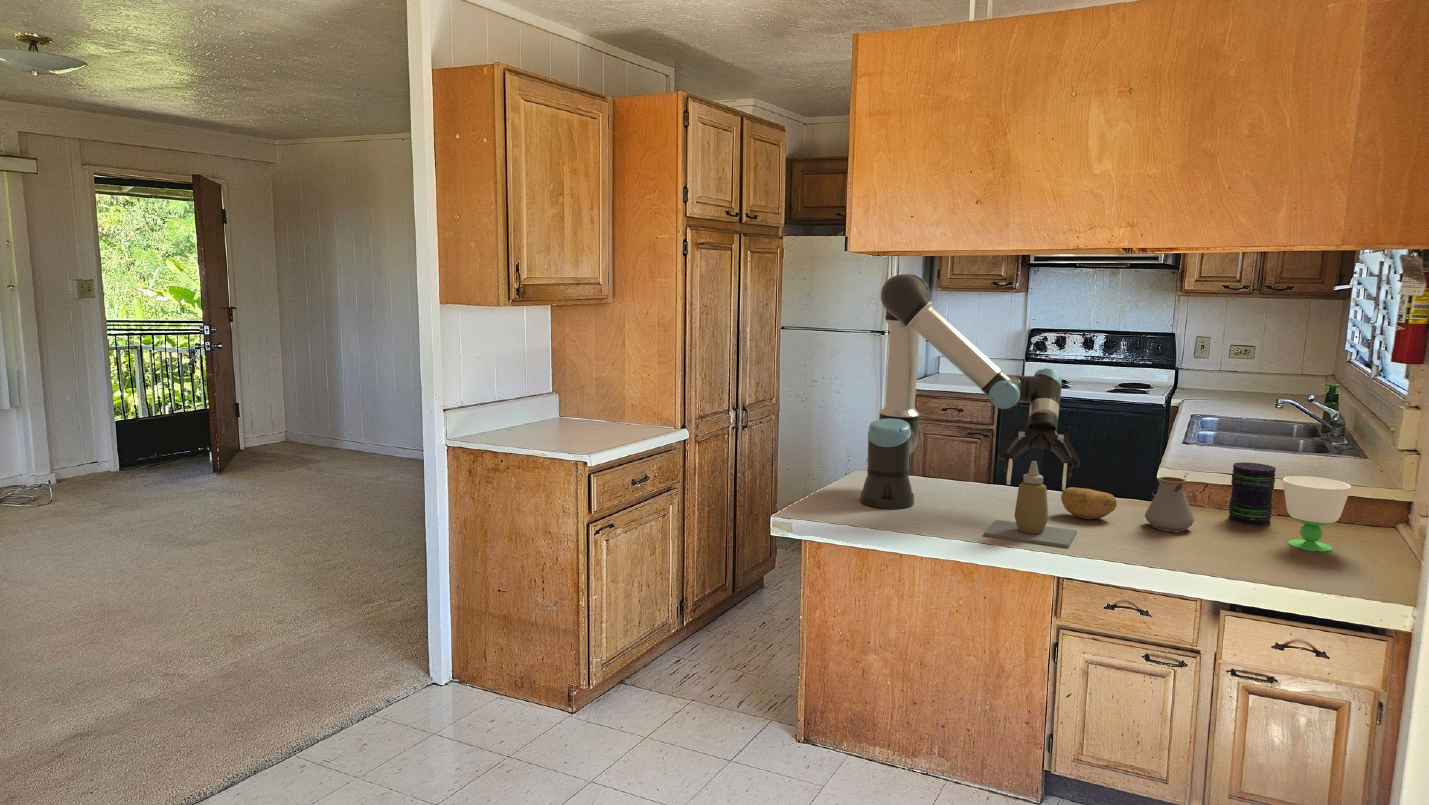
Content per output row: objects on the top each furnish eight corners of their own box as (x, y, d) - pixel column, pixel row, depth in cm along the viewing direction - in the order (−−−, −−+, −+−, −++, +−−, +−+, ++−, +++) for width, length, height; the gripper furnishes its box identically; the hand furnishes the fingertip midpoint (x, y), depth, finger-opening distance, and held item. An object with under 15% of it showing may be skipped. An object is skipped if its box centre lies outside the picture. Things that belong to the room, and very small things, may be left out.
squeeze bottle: (1007, 531, 225) (1010, 461, 223) (1023, 525, 231) (1027, 456, 228) (1037, 538, 219) (1041, 466, 217) (1053, 531, 225) (1057, 461, 222)
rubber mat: (983, 535, 224) (983, 532, 224) (995, 522, 236) (996, 519, 236) (1068, 548, 214) (1068, 544, 214) (1076, 533, 226) (1076, 530, 226)
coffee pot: (1142, 520, 239) (1146, 465, 237) (1190, 524, 235) (1195, 468, 232) (1149, 542, 219) (1153, 482, 217) (1202, 547, 215) (1207, 486, 213)
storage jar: (1279, 526, 233) (1284, 470, 231) (1241, 526, 233) (1246, 470, 231) (1256, 516, 243) (1261, 462, 240) (1220, 516, 243) (1224, 462, 240)
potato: (1113, 526, 233) (1115, 496, 231) (1056, 518, 240) (1058, 489, 239) (1118, 517, 241) (1120, 488, 240) (1063, 510, 248) (1065, 482, 247)
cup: (1293, 553, 210) (1300, 488, 208) (1266, 536, 224) (1272, 475, 221) (1356, 556, 208) (1364, 490, 206) (1325, 539, 222) (1332, 476, 219)
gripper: (1092, 430, 241) (1087, 497, 230) (996, 423, 251) (986, 487, 240) (1093, 413, 235) (1087, 481, 224) (994, 407, 245) (985, 472, 234)
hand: (1035, 484), depth 232 cm, fingers open, 13 cm apart
